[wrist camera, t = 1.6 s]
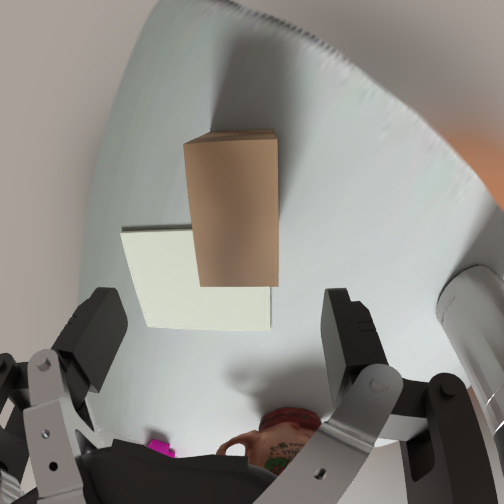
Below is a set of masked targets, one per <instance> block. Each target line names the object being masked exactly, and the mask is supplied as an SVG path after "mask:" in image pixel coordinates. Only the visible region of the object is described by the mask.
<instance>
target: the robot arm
mask: <svg viewBox="0 0 504 504" xmlns="http://www.w3.org/2000/svg"><path fill="white" fill-rule="evenodd" d="M436 314H437V318H438V320H439V322H440V324H441V326H442V327H443V329H444V331H445V333H446V335H447V337H448V339H449V340H450V343H451V345H452V346H453V348H454V350H455V352H456V354H457V356H458V358H459V360H460V362H461V364H462V366H463V368H464V370H465V372H466V374H467V377H468V379H469V381H470V383H471V385H472V387H473V390H474V392H475V394H476V396H477V399H478V401H479V403H480V406H481V408H482V410H483V413H484V415H485V417H486V420H487V422H488V425H489V428H490V430H491V433H492V436H493V437H494V441H495V443H496V447H497V450H498V454H499V460H500V464H501V469H502V472H503V476H504V280H503V279H502V278H501V277H500V276H499V275H495V274H494V273H493V272H492V271H491V270H490V269H489V268H488V267H485V266H474V267H471V268H469V269H467V270H465V271H463V272H462V273H460V274H459V275H457V276H456V277H455V278H454V279H453V280H452V281H451V282H450V283H449V284H448V286H447V287H446V288H445V290H444V291H443V293H442V294H441V296H440V299H439V301H438V304H437V309H436ZM127 327H128V320H127V316H126V313H125V311H124V308H123V305H122V302H121V300H120V297H119V294H118V291H117V290H116V289H115V288H105V287H98V288H96V289H95V291H94V292H93V294H92V295H91V297H90V298H89V299H87V300H85V301H84V302H83V303H82V304H81V305H79V306H78V307H77V309H76V311H75V312H74V313H73V315H72V317H71V318H70V319H69V321H68V324H66V325H65V327H64V329H63V330H62V332H61V333H60V335H59V336H58V338H57V340H56V341H55V343H54V345H53V346H52V348H51V349H44V350H41V351H38V352H37V353H35V354H34V355H33V357H32V358H31V359H30V360H29V362H21V363H16V362H15V360H14V358H13V357H12V356H11V355H10V354H8V353H2V354H0V414H1V411H2V409H3V407H4V405H5V403H6V401H7V398H9V399H10V400H11V402H13V404H14V405H15V406H14V408H13V411H12V413H11V415H10V418H9V420H8V422H7V425H6V427H5V429H3V428H2V427H1V425H0V504H337V502H338V501H339V499H340V498H341V497H342V495H343V494H344V492H345V491H346V490H347V488H348V487H349V485H350V484H351V482H352V481H353V479H354V478H355V476H356V475H357V473H358V472H359V470H360V469H361V467H362V465H363V464H364V462H365V461H366V459H367V458H368V455H369V454H370V452H371V451H372V449H373V447H374V444H375V442H376V440H377V438H383V439H391V440H399V441H400V447H401V454H402V460H403V466H404V473H405V481H406V490H407V500H408V504H498V499H497V494H496V489H495V484H494V479H493V475H492V471H491V466H490V462H489V458H488V454H487V450H486V447H485V443H484V440H483V436H482V433H481V430H480V427H479V424H478V420H477V417H476V414H475V411H474V409H473V406H472V403H471V400H470V397H469V395H468V392H467V389H466V386H465V384H464V383H463V381H462V380H461V379H460V378H459V377H457V376H455V375H453V374H450V373H439V374H437V375H435V376H434V377H433V378H432V379H431V380H430V382H429V383H428V382H420V381H412V380H407V379H404V378H402V377H401V375H400V374H399V372H398V371H397V370H396V369H394V368H393V367H391V366H389V364H388V362H387V359H386V356H385V353H384V350H383V347H382V344H381V342H380V339H379V336H378V333H377V332H376V328H375V325H374V323H373V320H372V317H371V314H370V312H369V310H368V309H367V308H366V307H365V306H364V305H363V304H362V303H361V302H360V301H353V302H351V300H350V297H349V294H348V291H347V289H346V288H329V289H325V293H324V300H323V308H322V316H321V338H322V344H323V349H324V355H325V361H326V367H327V373H328V380H329V386H330V392H331V399H332V406H333V408H337V409H336V410H335V412H334V413H333V415H332V416H331V417H330V419H329V420H328V421H325V422H323V423H322V425H321V426H320V427H319V428H318V429H317V431H316V432H315V433H314V434H313V436H312V437H311V438H310V439H309V441H308V442H307V443H306V445H305V446H304V447H303V448H302V449H301V451H300V452H299V453H298V454H297V455H296V457H295V458H294V459H293V460H292V461H291V463H290V464H289V465H288V466H287V467H286V468H285V470H284V471H283V472H282V473H281V474H280V475H279V476H277V475H276V474H274V473H272V472H270V471H268V470H266V469H264V468H261V467H258V466H255V465H251V464H249V459H248V456H227V455H213V454H211V455H204V456H196V457H186V458H172V457H169V456H167V455H165V454H162V453H160V452H158V451H155V450H153V449H151V448H148V447H146V446H144V445H140V444H135V443H131V442H126V441H122V440H117V439H114V440H113V443H112V446H111V447H107V446H106V445H105V443H104V442H103V440H102V438H101V436H100V434H99V431H98V428H97V425H96V422H95V419H94V416H93V413H92V410H91V407H90V404H89V401H88V399H87V397H86V395H87V392H88V391H90V392H94V393H99V392H100V390H101V387H102V385H103V383H104V380H105V378H106V376H107V373H108V371H109V369H110V366H111V364H112V362H113V360H114V357H115V355H116V353H117V351H118V349H119V346H120V344H121V342H122V340H123V338H124V336H125V334H126V331H127ZM29 455H30V459H31V464H32V469H33V473H34V477H35V481H36V485H37V487H36V488H34V489H32V490H31V491H29V492H28V493H26V494H25V493H24V492H23V491H21V489H20V484H21V481H22V477H23V474H24V471H25V467H26V464H27V461H28V458H29Z"/></svg>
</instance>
